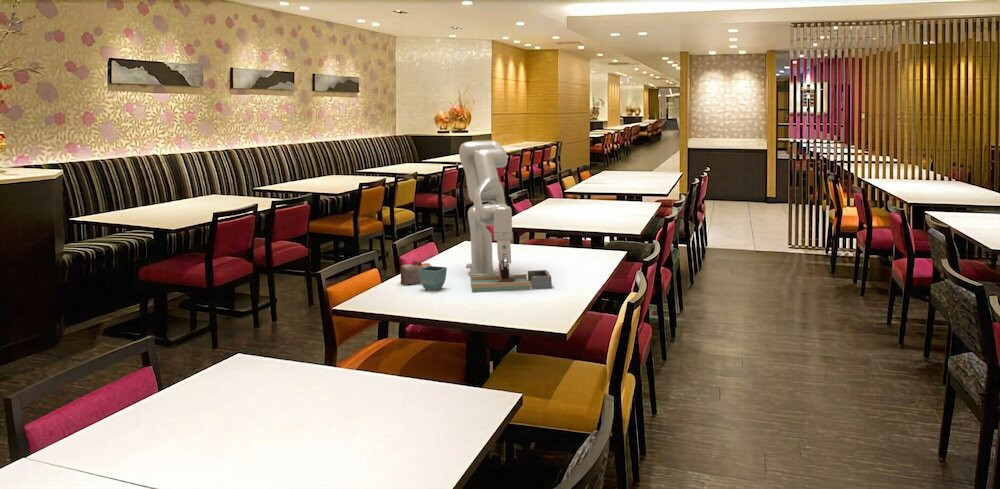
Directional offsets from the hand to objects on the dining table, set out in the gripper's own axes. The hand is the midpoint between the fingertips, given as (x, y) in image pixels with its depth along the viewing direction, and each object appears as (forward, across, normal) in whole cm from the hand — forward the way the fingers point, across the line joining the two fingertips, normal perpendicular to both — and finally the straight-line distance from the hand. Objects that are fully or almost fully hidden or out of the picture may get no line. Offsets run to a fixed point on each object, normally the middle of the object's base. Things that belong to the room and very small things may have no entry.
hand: (504, 276), depth 316 cm
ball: (+2, 0, -13) cm, 13 cm away
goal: (+4, 0, -14) cm, 15 cm away
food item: (+5, +15, +37) cm, 40 cm away
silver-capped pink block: (+3, 0, -1) cm, 3 cm away
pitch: (+4, 0, +2) cm, 5 cm away
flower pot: (+5, +1, +30) cm, 30 cm away
